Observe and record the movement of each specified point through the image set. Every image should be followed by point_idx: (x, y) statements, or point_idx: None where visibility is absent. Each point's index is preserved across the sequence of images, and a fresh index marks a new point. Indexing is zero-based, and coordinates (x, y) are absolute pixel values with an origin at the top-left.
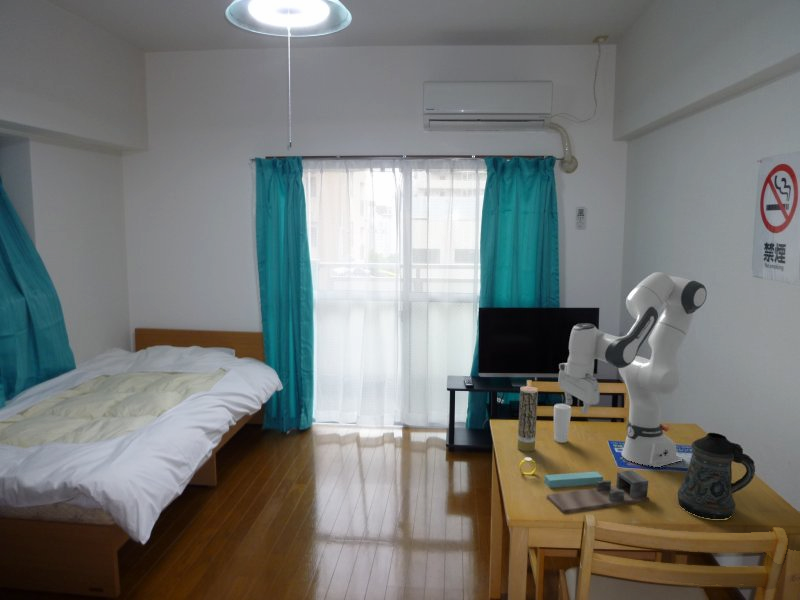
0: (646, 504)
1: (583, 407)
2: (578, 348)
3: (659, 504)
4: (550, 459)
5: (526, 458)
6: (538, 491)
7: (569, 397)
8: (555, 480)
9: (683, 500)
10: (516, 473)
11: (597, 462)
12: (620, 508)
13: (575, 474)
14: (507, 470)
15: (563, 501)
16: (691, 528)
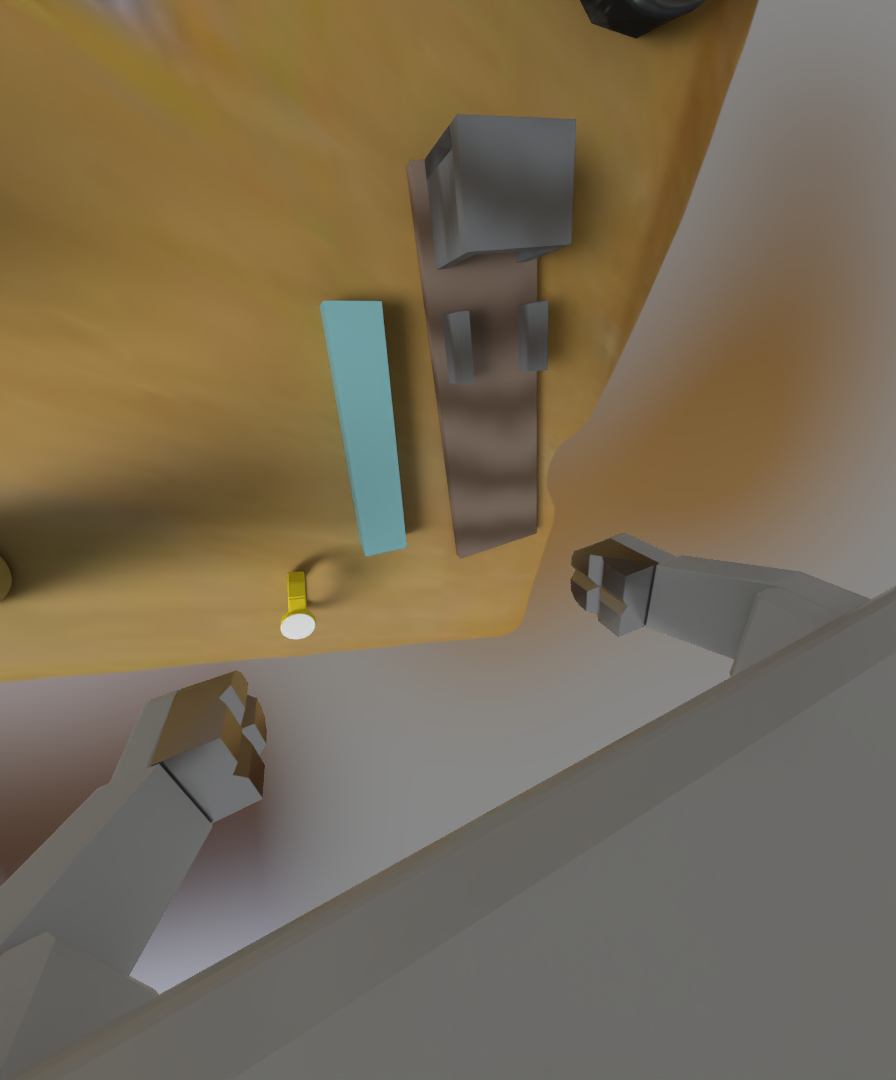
0: None
1: (682, 632)
2: None
3: None
4: (97, 468)
5: (293, 632)
6: (420, 570)
7: (148, 837)
8: (404, 526)
9: (657, 8)
10: None
11: (58, 147)
12: None
13: (359, 434)
14: (271, 647)
15: (500, 522)
16: (695, 146)
